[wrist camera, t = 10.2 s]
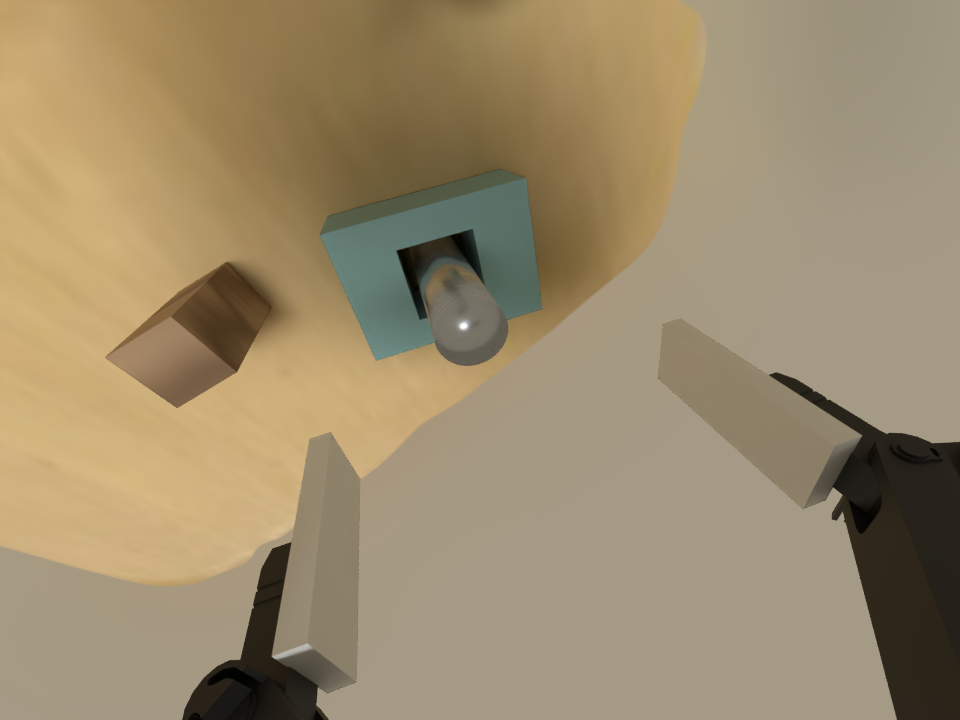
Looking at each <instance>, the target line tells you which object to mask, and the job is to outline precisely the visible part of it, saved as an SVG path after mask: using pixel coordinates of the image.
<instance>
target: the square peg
mask: <svg viewBox="0 0 960 720" xmlns="http://www.w3.org/2000/svg"><path fill="white" fill-rule="evenodd" d="M270 309H271V306H270V305H269V304H268V303H267V302H266V301H265V300H264V299H263V298H262V297H261V296H260V295H259V294H258V293H257V292H256V291H255V290H254V289H253V288H252V287H251V286H250V285H249V284H248V283H247V282H246V281H245V280H244V279H243V278H242V277H241V276H240V275H239V274H238V273H237V272H236V271H235V269H234V268H233V267H232V266H231V265H230V264H229V263H228V262H226V263H224V264H223V265H221V266H219V267H218V268H216V269H215V270H213V271H211V272H210V273H208V274H207V275H205V276H203V277H202V278H200V279H199V280H197V281H195V282H194V283H192V284H191V285H189V286H187V287H186V288H184V289H183V290H181V291H179V292H178V293H177V294H176V295H175V296H174V297H173V298H171V299H170V300H169V301H168V302H167V303H166V304H165V305H164V306H162V307H161V308H160V309H159V310H158V311H157V312H156V313H154V314H153V315H152V316H151V317H150V318H149V319H148V320H147V321H145V322H144V323H143V324H142V325H141V326H140V327H139V328H138V329H136V330H135V331H134V332H133V333H132V334H131V335H130V336H128V337H127V338H126V339H125V340H124V341H123V342H122V343H121V344H119V345H118V346H117V347H116V348H115V349H114V350H113V351H112V352H110V353H109V354H108V355H107V356H106V357H105V358H106V359H107V360H109V361H110V362H112V363H113V364H114V365H116V366H117V367H119V368H120V369H122V370H123V371H124V372H126V373H127V374H129V375H130V376H132V377H133V378H135V379H136V380H137V381H139V382H140V383H142V384H143V385H145V386H146V387H147V388H149V389H150V390H152V391H153V392H155V393H156V394H158V395H159V396H160V397H162V398H163V399H165V400H166V401H168V402H169V403H170V404H172V405H173V406H175V407H176V408H178V407H180V406H182V405H183V404H185V403H187V402H188V401H190V400H192V399H193V398H195V397H197V396H198V395H200V394H201V393H203V392H205V391H206V390H208V389H210V388H211V387H213V386H215V385H216V384H218V383H220V382H221V381H223V380H225V379H226V378H228V377H230V376H231V375H233V374H235V373H236V372H237V371H238V369H239V367H240V365H241V363H242V362H243V360H244V358H245V356H246V354H247V352H248V350H249V348H250V346H251V345H252V343H253V341H254V339H255V337H256V335H257V333H258V331H259V330H260V328H261V326H262V324H263V322H264V320H265V318H266V316H267V314H268V313H269V311H270Z"/></svg>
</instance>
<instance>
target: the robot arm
mask: <svg viewBox="0 0 960 720" xmlns="http://www.w3.org/2000/svg"><path fill="white" fill-rule="evenodd" d="M658 379H659V380H660V381H661V382H662V383H663V384H665V385H666V386H667V387H668V388H669V389H670V390H671V391H672V392H673V393H674V394H676V395H677V396H678V397H679V398H680V399H681V400H683V402H684V403H686V404H687V405H688V406H689V407H690V408H691V409H692V410H693V411H695V412H696V413H697V414H698V415H699V416H700V417H701V418H702V419H703V420H705V421H706V422H707V423H708V424H709V425H710V426H711V427H712V428H713V429H714V430H716V431H717V432H718V433H719V434H720V435H721V436H722V437H723V438H724V439H726V440H727V441H728V442H729V443H730V444H731V445H732V446H733V447H734V448H735V449H737V450H738V451H739V452H740V453H741V454H742V455H743V456H744V457H745V458H747V459H748V460H749V461H750V462H751V463H752V464H753V465H754V466H756V467H757V468H758V469H759V470H760V471H761V472H762V473H763V474H764V475H765V476H767V477H768V478H769V479H770V480H771V481H772V482H773V483H774V484H775V485H777V486H778V487H779V488H780V489H781V490H782V491H783V492H785V494H787V495H788V496H789V497H790V498H791V499H792V500H793V501H794V502H795V503H796V504H798V505H799V506H800V507H801V508H802V509H804V508H807V507H809V506H812V505H814V504H817V503H820V502H822V501H825V500H826V499H827V497H828V495H829V493H830V492H831V490H832V488H833V487H834V488H835V489H836V490H837V491H839V492H840V493H841V494H842V495H843V496H842V497H841V499H840V501H839V502H838V504H837V506H836V507H835V509H834V511H833V512H832V519H833V520H837V519H838V518H839V516H840V515H841V513H842V511H843V514H844V518H845V520H844V522H845V523H846V525H847V529H848V533H849V537H850V541H851V545H852V549H853V552H854V556H855V560H856V564H857V567H858V572H859V575H860V579H861V583H862V587H863V591H864V595H865V598H866V602H867V606H868V610H869V614H870V618H871V621H872V625H873V629H874V633H875V637H876V641H877V644H878V648H879V652H880V656H881V660H882V664H883V667H884V671H885V675H886V679H887V682H888V687H889V690H890V694H891V698H892V702H893V705H894V710H895V713H896V717H897V720H960V442H953V443H952V442H951V443H931V442H928V441H926V440H924V439H921V438H919V437H916V436H912V435H908V434H903V433H888V434H886V433H884V432H882V431H880V430H878V429H876V428H875V427H873V426H871V425H870V424H868V423H867V422H865V421H863V420H862V419H860V418H858V417H857V416H855V415H853V414H852V413H850V412H849V411H847V410H845V409H843V408H842V407H841V406H839V405H837V404H836V403H834V402H832V401H831V400H827V399H826V398H825V397H824V396H823V395H821V394H819V393H818V392H814V391H813V390H812V389H811V388H810V387H808V386H806V385H805V384H803V383H801V382H800V381H798V380H797V379H794V378H791V377H788V376H785V375H783V374H780V373H773V374H770V375H768V374H766V373H764V372H763V371H761V370H760V369H758V368H757V367H755V366H753V365H752V364H750V363H749V362H747V361H746V360H744V359H743V358H741V357H740V356H738V355H737V354H735V353H733V352H732V351H730V350H729V349H727V348H726V347H724V346H723V345H721V344H720V343H718V342H716V341H715V340H713V339H712V338H710V337H709V336H707V335H705V334H704V333H702V332H701V331H699V330H698V329H696V328H695V327H693V326H692V325H690V324H689V323H687V322H685V321H684V320H682V319H677V320H674V321H671V322H668V323H665V324H663V328H662V339H661V350H660V360H659V371H658ZM359 518H360V478H359V476H358V475H357V473H356V472H355V470H354V468H353V467H352V465H351V464H350V462H349V460H348V459H347V457H346V456H345V454H344V452H343V451H342V449H341V448H340V446H339V444H338V443H337V441H336V440H335V438H334V436H333V435H332V433H331V432H329V433H326V434H323V435H320V436H317V437H314V438H311V439H310V440H309V445H308V451H307V457H306V463H305V468H304V474H303V480H302V485H301V491H300V497H299V503H298V508H297V514H296V520H295V525H294V531H293V537H292V542H290V543H287V544H285V545H282V546H279V547H276V548H273V549H272V551H271V552H270V554H269V556H268V558H267V559H266V561H265V563H264V565H263V567H262V569H261V573H260V577H259V582H258V586H257V589H258V591H257V592H256V595H255V599H254V604H253V605H254V608H253V609H252V612H251V616H250V620H249V625H248V630H247V633H246V638H245V642H244V647H243V651H242V655H241V659H240V660H229V661H227V662H225V663H223V664H221V665H219V666H217V667H216V668H215V669H213V670H212V671H211V672H210V673H209V674H208V675H207V676H206V677H204V679H203V680H202V681H201V682H200V684H199V685H198V686H197V688H196V689H195V690H194V692H193V693H192V695H191V698H190V700H189V701H188V703H187V705H186V707H185V710H184V715H183V719H182V720H328V718H327V717H326V716H325V714H324V713H323V712H322V710H321V709H320V708H319V707H317V706H316V702H317V689H318V687H319V688H320V689H321V690H323V691H324V692H326V693H330V692H332V691H335V690H338V689H340V688H343V687H346V686H348V685H351V684H353V683H356V682H357V640H358V580H359V521H360V519H359Z"/></svg>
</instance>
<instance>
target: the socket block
mask: <svg viewBox="0 0 960 720" xmlns="http://www.w3.org/2000/svg"><path fill="white" fill-rule="evenodd" d="M459 232H461V234H462V239H463V243H464V247H465V251H466V256H467V260H468V263H469V264H470V265H471V267H472V268H473V270H474V271H475V273H476V274H477V275H478V277H479V278H480V280H481V281H482V283H483V284H484V285H485V287H486V288H487V290H488V291H489V293H490V294H491V295H492V297H493V298H494V300H495V301H496V303H497V304H498V305H499V307H500V308H501V310H502V311H503V313H504V314H505V317H506V319H507V320H508V319H512V318H515V317H518V316H521V315H524V314H528V313H531V312H534V311H537V310H541V309H542V303H541V294H540V286H539V278H538V270H537V262H536V254H535V246H534V238H533V230H532V222H531V214H530V206H529V198H528V190H527V182H526V178H525V177H522V176H519V175H516V174H513V173H510V172H507V171H505V170H502V169H499V170H495V171H491V172H488V173H484V174H480V175H477V176H473V177H469V178H466V179H462V180H458V181H454V182H451V183H447V184H443V185H440V186H436V187H432V188H429V189H425V190H421V191H418V192H414V193H410V194H407V195H403V196H399V197H396V198H392V199H388V200H385V201H381V202H377V203H374V204H370V205H366V206H363V207H359V208H355V209H352V210H348V211H344V212H341V213H337V214H333V215H330V216H328V217H327V219H326V222H325V224H324V226H323V229H322V231H321V233H320V237H321V239H322V241H323V243H324V246H325V248H326V250H327V252H328V255H329V257H330V259H331V261H332V264H333V266H334V268H335V270H336V273H337V275H338V277H339V279H340V282H341V284H342V286H343V288H344V290H345V293H346V295H347V297H348V299H349V302H350V304H351V306H352V308H353V311H354V313H355V315H356V317H357V320H358V322H359V324H360V326H361V329H362V331H363V333H364V335H365V337H366V340H367V342H368V344H369V346H370V349H371V351H372V353H373V355H374V358H375V360H376V361H377V360H380V359H383V358H386V357H389V356H393V355H396V354H399V353H402V352H406V351H409V350H412V349H415V348H418V347H422V346H425V345H428V344H431V343H434V342H435V340H434V336H433V333H432V330H431V326H430V323H429V319H428V316H427V313H426V309H425V306H424V302H423V299H422V295H421V292H420V289H419V290H415V291H412V289H411V286H410V283H409V280H408V277H407V275H406V272H405V269H404V266H403V263H402V260H401V257H400V254H399V251H398V250H400V249H403V248H407V247H410V246H414V245H417V244H421V243H424V242H428V241H431V240H435V239H438V238H442V237H445V236H449V235H452V234H456V233H459Z"/></svg>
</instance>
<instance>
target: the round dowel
mask: <svg viewBox="0 0 960 720" xmlns="http://www.w3.org/2000/svg"><path fill="white" fill-rule="evenodd" d="M410 257H411V261H412V265H413V268H414V271H415V275H416V278H417V282H418V285H419V289H420V292H421V295H422V299H423V302H424V306H425V309H426V313H427V316H428V319H429V323H430V326H431V330H432V333H433V336H434V340H435V343H436V346H437V349H438V350H439V352H440V353H441V355H442V356H443V357H444V358H445V359H447V360H448V361H450V362H452V363H455V364H458V365H464V366H471V365H477V364H480V363H483V362H485V361H487V360H489V359H490V358H492V357H493V356H495V355H496V354H497V353H498V352H499V350H500V349H501V348H502V346H503V345H504V343H505V341H506V338H507V334H508V323H507V319H506V317H505V314H504V313H503V311H502V310H501V308H500V307H499V305H498V304H497V303H496V301H495V300H494V298H493V297H492V295H491V294H490V293H489V291H488V290H487V288H486V287H485V285H484V284H483V283H482V281H481V280H480V278H479V277H478V275H477V274H476V273H475V271H474V270H473V268H472V267H471V265H470V264H469V263H468V261H467V260H466V258H465V257H464V255H463V254H462V252H461V251H460V250H459V248H458V247H457V245H456V244H455V242H454V241H453V240H452V238H451V237H450V236H445V237H442V238H438V239H435V240H431V241H428V242H424V243H421V244H417V245H414V246H411V249H410Z"/></svg>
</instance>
